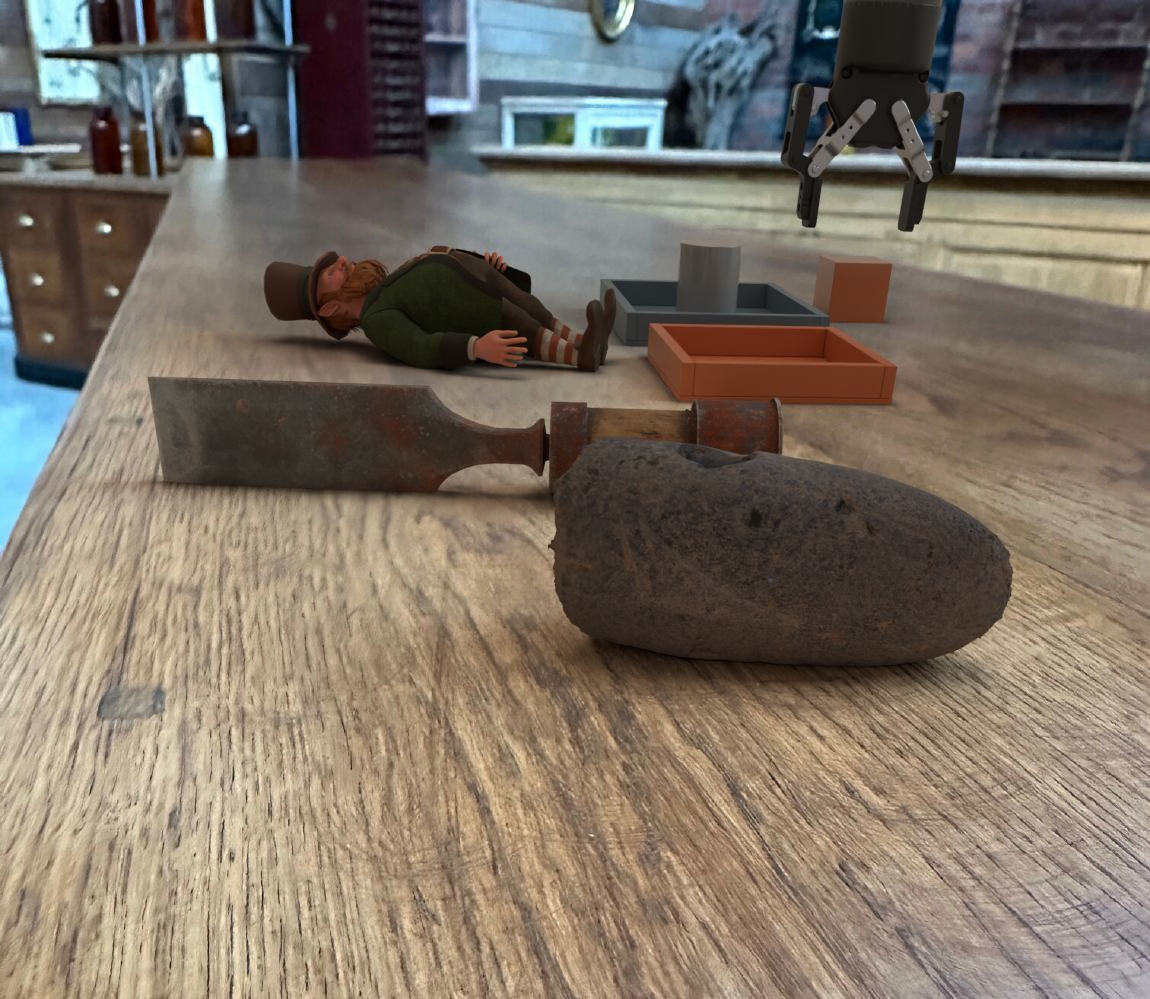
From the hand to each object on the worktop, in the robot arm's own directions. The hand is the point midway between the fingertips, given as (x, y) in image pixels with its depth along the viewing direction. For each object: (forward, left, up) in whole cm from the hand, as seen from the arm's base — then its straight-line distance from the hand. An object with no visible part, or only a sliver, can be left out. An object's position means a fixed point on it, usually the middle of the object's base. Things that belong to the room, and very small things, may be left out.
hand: (857, 229), depth 97 cm
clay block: (0, 0, -7) cm, 7 cm away
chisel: (+34, +52, -8) cm, 62 cm away
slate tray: (+14, +6, -7) cm, 17 cm away
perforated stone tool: (+24, +69, -8) cm, 73 cm away
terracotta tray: (+14, +26, -7) cm, 30 cm away
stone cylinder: (+14, +6, -7) cm, 17 cm away
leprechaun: (+36, +20, -8) cm, 42 cm away
